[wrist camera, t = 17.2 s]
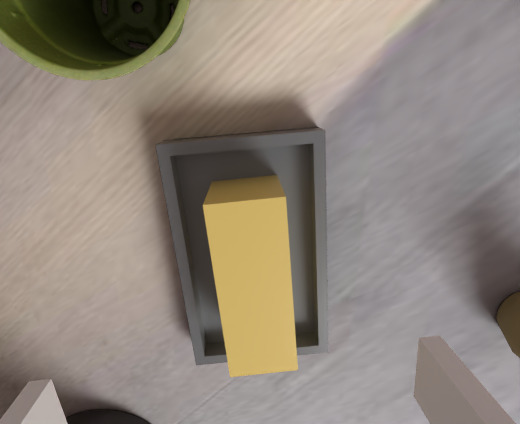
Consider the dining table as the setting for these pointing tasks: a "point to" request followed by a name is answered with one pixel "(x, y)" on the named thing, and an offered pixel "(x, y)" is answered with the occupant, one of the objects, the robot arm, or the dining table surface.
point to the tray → (298, 214)
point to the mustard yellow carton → (252, 273)
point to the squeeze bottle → (510, 321)
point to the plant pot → (89, 34)
